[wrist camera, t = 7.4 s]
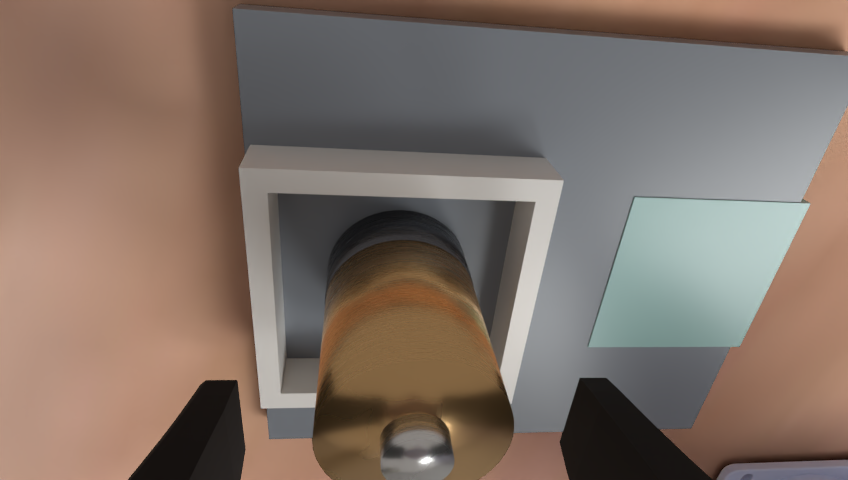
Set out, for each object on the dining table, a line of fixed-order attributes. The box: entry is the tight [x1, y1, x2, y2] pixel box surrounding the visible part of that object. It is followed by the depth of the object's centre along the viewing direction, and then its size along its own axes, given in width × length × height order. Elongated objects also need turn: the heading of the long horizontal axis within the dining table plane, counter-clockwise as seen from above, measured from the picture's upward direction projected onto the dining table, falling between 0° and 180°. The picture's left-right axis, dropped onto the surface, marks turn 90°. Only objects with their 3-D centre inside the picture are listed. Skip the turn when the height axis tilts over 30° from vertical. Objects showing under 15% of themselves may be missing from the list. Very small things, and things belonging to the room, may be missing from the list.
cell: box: [312, 210, 514, 480], centre depth 13 cm, size 4×4×7 cm
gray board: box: [232, 4, 848, 439], centre depth 16 cm, size 16×14×2 cm
